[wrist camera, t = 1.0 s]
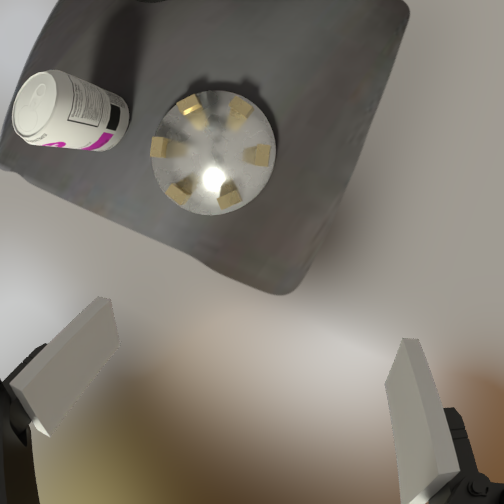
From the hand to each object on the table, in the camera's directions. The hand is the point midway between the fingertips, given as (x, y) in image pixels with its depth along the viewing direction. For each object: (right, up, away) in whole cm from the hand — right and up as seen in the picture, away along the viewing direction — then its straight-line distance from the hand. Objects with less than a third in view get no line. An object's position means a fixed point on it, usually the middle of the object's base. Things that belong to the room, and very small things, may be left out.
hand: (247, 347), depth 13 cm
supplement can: (-20, +22, +24) cm, 38 cm away
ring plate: (-4, +16, +24) cm, 29 cm away
